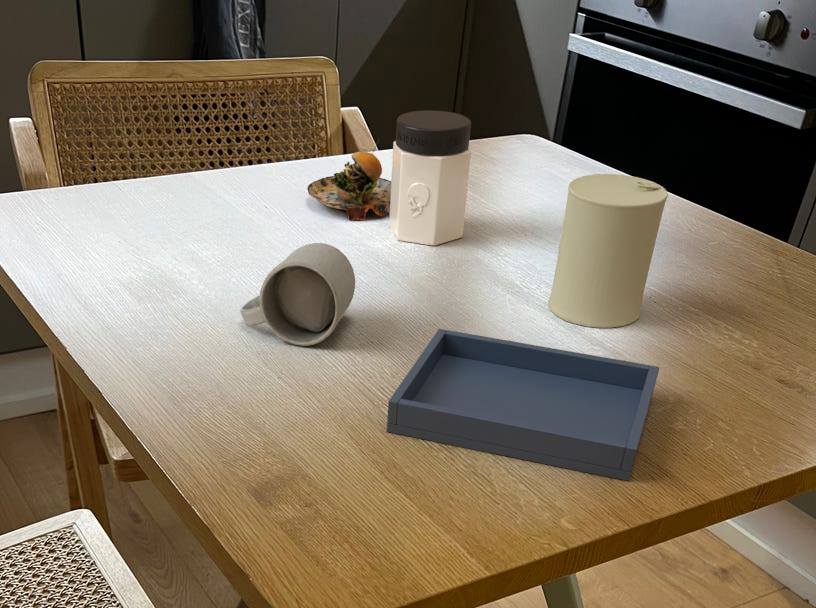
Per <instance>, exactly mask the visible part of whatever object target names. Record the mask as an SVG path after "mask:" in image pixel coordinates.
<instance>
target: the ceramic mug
mask: <svg viewBox="0 0 816 608" xmlns="http://www.w3.org/2000/svg"><path fill="white" fill-rule="evenodd" d="M355 275H356V274H355V271H354V268H353V266H352V263H351V262H350V260H349V258H348V257H347V256H346V255H345V254H344V253H343V252H342V251H341V250H340V249H338V248H337V247H335V246H334V245H331V244H328V243H323V242H313V243H308V244H305V245H302V246H300V247H298V248H296V249H295V250H293V251H292V252H291V253H290V254H289V255H288V256H287V257H286V258H285V259H284V260H282V261H281V262H280V263H279V264H277V265H276V266H275V267H274V268H273V269H272V270H270V272H269V273H268V274H267V276H266V277H265V279H264V281H263V283H262V285H261V288H260V291H259V295H257V296H255V297H254V298H252V299H250V300H249V301H248V302H246V303H245V304H244V305H243V306H241V308H240V310H239V311H240V315H241V316H242V319H243V321H244V323H245V326H248V327H255V326H258V325H263V324H266V325H267V327H268V328H269V329H270V331H271V332H272V333H274V335H275V336H276V337H278V338H279V339H281V340H282V341H284V342H286V343H289V344H292V345H294V346H303V347H307V346H308V347H309V346H313V345H316V344H320V343H322V342H324V341H325V340H326V339H327V338H328V337H329V336H330V335H331V334H332V333H333V332H334V331H335V329H336V328H337V326H338V324H339V322H340V321H341V319H342V318H343V316H344V314H345V312H346V311H347V310H348V308H349V307H350V305H351V303H352V300H353V298H354V294H355V290H356V276H355Z"/></svg>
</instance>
